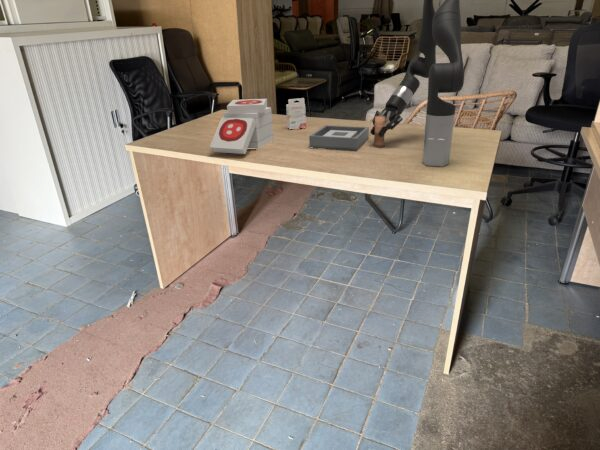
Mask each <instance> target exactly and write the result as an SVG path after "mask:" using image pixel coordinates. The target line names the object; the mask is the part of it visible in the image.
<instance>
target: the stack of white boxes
mask: <svg viewBox="0 0 600 450" xmlns="http://www.w3.org/2000/svg"><path fill="white" fill-rule="evenodd" d="M222 115H223V117H221V119H220V121H219V123H218V125H217V127H216V131H215V133H214V135H213V138H212V140H211V143H210V144H209V145H210V146H209V148H210V149H211V151H212V152H214V153H227V154H228V153H229V154H239V155H246V153H247V152H248V151H247V150H248V149H247V148H257V149H258V148H260V147H261V146H263V145H265V144H267V143H268V142H270V141H272V140H273V141H274V131H273V117H272V116H273V114H272V107H271V106H268V98H250V99H249V98H248V99H244V98H243V99H232V101H230V102H229V103H228V104H227V105H226V111H225V112H223V113H222Z"/></svg>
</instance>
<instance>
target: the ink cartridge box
mask: <svg viewBox="0 0 600 450" xmlns="http://www.w3.org/2000/svg"><path fill="white" fill-rule="evenodd" d="M296 101H298V102H296ZM287 102H288V104H285V107H286V108H285V109H286V112H285V113H286V124H287V129H288V128H289V129H293V128H304V127H306V128H307V119H306V118H307V116H306V115H307V114H306V113H307V112H306V104H305V98H304V97H301V98H299V97H298V98H289V99H288V100H287ZM289 129H288V130H289Z"/></svg>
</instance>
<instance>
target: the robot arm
mask: <svg viewBox="0 0 600 450" xmlns="http://www.w3.org/2000/svg"><path fill="white" fill-rule="evenodd" d="M421 19H422V20H421V26H420V32H419V35H418V42H417V45H416V46H417V47H416V48H417V51H419V52H420V53H421V54H422V55H423V56H424V57H423V56H421V55H416V56H413V57H412V58H411V59H410V61H409V63H408V66H407V69H406V72H405V74H404V77H403V79H402V80H401V82H400V83H399V84H398V86H397V87H396V89H394V91H393V92H392V93H391V95H390V97H389V98H388V100H387V101H386V102H385V107H384V108H383V110H382V111H379V110H376V111H375V114H374V117H373V118H372V122H371V123H373V126H372V128H371V129H370V130H369V132H370V133H369V134H371V135H372V136H374V134H375V116H385V124H384V127H382V129H381V130H380V132H379V133H378V135H379V136H380V137H382V136H384V137H385V135H386V132H387V131H389V130H394V129H395V128H396V127H397V126H398V125H399V124H400V123H401V122H402V121H403V117H402V114H403V112H404V110H405V109H406V108H407V106H408V105H409V103H410V102H411V100H412V98H413V97H414V95H415V94H416V93H417V91H418V89H419V87H420V85H421V84H420V83H421V82H420V80H419V79H418V78H417V77H416V76H419V77H422V78H424V79H428V81H427V82H428V83H427V103H426V114H425V115H426V116H425V124H424V125H425V126H424V134H423V135H424V137H423V144H422V145H423V147H422V148H423V149H422V159H421V162H422V164H424V165H425V166H429V167H441V168H442V167H445V166H447V165H450V159H451V158H450V157H451V149H452V141H453V132H454V131H453V130H454V124H455V116H456V105H455V104H454V103H452V102H448V101H445V100H444V99H442V98H440V97H439V94H444V93H445V94H447V93H453V94H454V93H458V92H460V91H461V90H462V89H463V87H464V82H465V68H464V67H465V66H464V60H463V53H462V51H463V50H462V22H461V19H462V18H461V7H460V0H444V1H443V3H441V5H440V6H439V7H438V8H437V10H435V7H434V0H423V5H422V18H421ZM437 46H438V48H439V49H440V50H441V51H442V52H443V53H444V54H445V55H446V57H447V59H448V61H449V62H437V60H436V59H437V57H436V55H437V54H436V48H437Z"/></svg>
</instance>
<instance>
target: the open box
mask: <svg viewBox="0 0 600 450" xmlns="http://www.w3.org/2000/svg"><path fill="white" fill-rule="evenodd" d="M369 132H370V127H368V126H352V125H349V126H346V125H345V126H344V125H329V124H328V125H327V124H326V125H325V124H324V125H322V127H320V128H319V129H318V130H316V131H314V132H313V133H311V134H309V137H308V138H309V142H308V143H309V148H310V147H313V148H312V149H318V148H325V149H324V150H333V149H336V150H335V151H348V152H349V151H351V152H352V151H353V152H358V150H359V149H360V148H361V147H362V146H363V145H364V144H365V143H366V142H367V141H368V140H369V135H370V133H369Z"/></svg>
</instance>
